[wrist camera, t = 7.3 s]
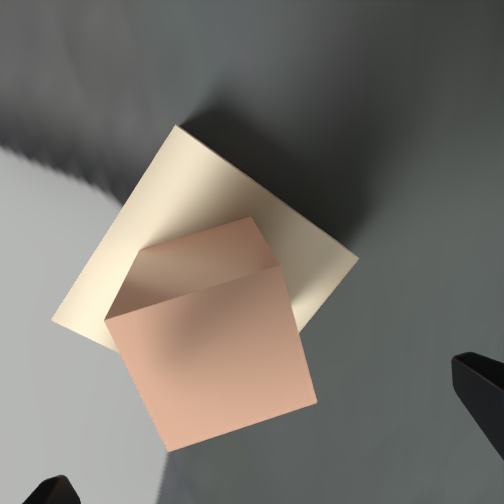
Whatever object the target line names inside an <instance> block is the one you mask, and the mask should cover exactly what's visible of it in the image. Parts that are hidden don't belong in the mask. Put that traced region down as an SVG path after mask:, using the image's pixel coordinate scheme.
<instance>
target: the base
mask: <svg viewBox="0 0 504 504" xmlns="http://www.w3.org/2000/svg"><path fill="white" fill-rule="evenodd" d="M250 216H251V217H252V219H253V221H254V222H255V224H256V226H257V227H258V229H259V231H260V232H261V234H262V236H263V237H264V239H265V240H266V242H267V244H268V245H269V247H270V249H271V250H272V252H273V254H274V255H275V257H276V259H277V260H278V262H279V264H280V266H281V269H282V273H283V277H284V281H285V284H286V288H287V292H288V296H289V299H290V303H291V307H292V310H293V314H294V318H295V322H296V325H297V329H298V333H299V332H300V331H301V330H302V328H303V327H304V326H305V325H306V324H307V322H308V321H309V320H310V319H311V317H312V316H313V315H314V314H315V312H316V311H317V310H318V309H319V307H320V306H321V305H322V304H323V303H324V301H325V300H326V299H327V298H328V296H329V295H330V294H331V293H332V291H333V290H334V289H335V288H336V286H337V285H338V284H339V283H340V282H341V280H342V279H343V278H344V277H345V275H346V274H347V273H348V272H349V270H350V269H351V268H352V267H353V265H354V264H355V263H356V262H357V261H358V259H359V258H358V257H357V256H355V255H354V254H353V253H352V252H350V251H349V250H348V249H347V248H345V247H344V246H343V245H342V244H340V243H339V242H338V241H337V240H335V239H334V238H333V237H331V236H330V235H328V234H327V233H326V232H324V231H323V230H322V229H320V228H319V227H318V226H316V225H315V224H313V223H312V222H311V221H309V220H308V219H307V218H305V217H304V216H302V215H301V214H300V213H298V212H297V211H296V210H294V209H293V208H291V207H290V206H289V205H287V204H286V203H285V202H283V201H282V200H280V199H279V198H278V197H276V196H275V195H274V194H272V193H271V192H269V191H268V190H267V189H265V188H264V187H263V186H261V185H260V184H259V183H257V182H256V181H254V180H253V179H252V178H250V177H249V176H248V175H246V174H245V173H243V172H242V171H241V170H239V169H238V168H237V167H235V166H234V165H232V164H231V163H230V162H228V161H227V160H226V159H224V158H223V157H221V156H220V155H219V154H217V153H216V152H215V151H213V150H212V149H210V148H209V147H208V146H206V145H205V144H204V143H202V142H201V141H200V140H198V139H197V138H195V137H194V136H193V135H191V134H190V133H189V132H187V131H186V130H184V129H183V128H182V127H180V126H178V125H175V126H174V128H173V130H172V131H171V133H170V134H169V136H168V137H167V139H166V141H165V142H164V144H163V145H162V147H161V148H160V150H159V152H158V153H157V155H156V156H155V158H154V159H153V161H152V163H151V164H150V166H149V167H148V169H147V170H146V172H145V174H144V175H143V177H142V178H141V180H140V181H139V183H138V185H137V186H136V188H135V189H134V191H133V192H132V194H131V195H130V197H129V199H128V200H127V202H126V203H125V205H124V206H123V208H122V210H121V211H120V213H119V214H118V216H117V218H116V219H115V221H114V222H113V224H112V225H111V227H110V228H109V230H108V232H107V233H106V235H105V236H104V238H103V239H102V241H101V243H100V244H99V246H98V247H97V249H96V251H95V252H94V254H93V255H92V257H91V258H90V260H89V262H88V263H87V265H86V266H85V268H84V270H83V271H82V272H81V274H80V276H79V277H78V279H77V280H76V282H75V283H74V285H73V287H72V288H71V290H70V291H69V293H68V294H67V296H66V297H65V299H64V301H63V302H62V304H61V305H60V307H59V308H58V310H57V312H56V313H55V315H54V317H53V318H52V319H51V320H52V321H54V322H56V323H58V324H60V325H62V326H65V327H66V328H68V329H70V330H72V331H75V332H77V333H79V334H81V335H83V336H85V337H87V338H89V339H91V340H93V341H95V342H97V343H99V344H101V345H104V346H105V347H108V348H110V349H112V350H114V351H116V352H118V353H119V351H118V349H117V347H116V345H115V343H114V340H113V338H112V336H111V334H110V332H109V330H108V328H107V326H106V324H105V322H104V319H105V317H106V315H107V313H108V311H109V309H110V307H111V305H112V303H113V301H114V299H115V297H116V295H117V293H118V291H119V289H120V287H121V285H122V283H123V281H124V279H125V277H126V275H127V273H128V271H129V269H130V267H131V265H132V263H133V261H134V259H135V257H136V255H137V253H138V251H139V250H142V249H146V248H149V247H152V246H156V245H159V244H162V243H165V242H169V241H172V240H175V239H178V238H182V237H185V236H188V235H191V234H195V233H198V232H201V231H204V230H208V229H211V228H214V227H217V226H221V225H224V224H227V223H230V222H234V221H237V220H240V219H243V218H247V217H250Z"/></svg>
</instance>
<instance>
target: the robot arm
mask: <svg viewBox="0 0 504 504" xmlns="http://www.w3.org/2000/svg"><path fill="white" fill-rule="evenodd" d="M451 364H452V380H453V387H454V390H455V392H456V394H457V395H458V397H459V398H460V400H461V401H462V403H463V404H464V405H465V407H466V408H467V410H468V411H469V413H470V414H471V415H472V417H473V418H474V420H475V421H476V423H477V424H478V425H479V427H480V428H481V430H482V431H483V432H484V434H485V435H486V437H487V438H488V440H489V441H490V442H491V444H492V445H493V447H494V448H495V449H496V451H497V452H498V453H499V455H500V456H501V458H502V459H503V460H504V363H502V362H499V361H496V360H493V359H491V358H488V357H485V356H482V355H479V354H476V353H473V352H465V353H462V354H459V355H455V356H454V357H453V358H452V360H451ZM22 504H81V502H80V498H79V497H78V495H77V493H76V491H75V490H74V488H73V487H72V485H71V483H70V481H69V480H68V478H67V477H66V476H64V475H58V476H55V477H52V478H49V479H46V480H44V481H43V482H41V483H40V484H39V486H38V487H37V488H36V489H35V490H34V491H33V492H32V493H31V495H30V496H29V497H28V498H27V499H26V500H25V501H24V502H23V503H22Z"/></svg>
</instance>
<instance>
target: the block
mask: <svg viewBox="0 0 504 504" xmlns="http://www.w3.org/2000/svg"><path fill="white" fill-rule="evenodd" d="M104 322H105V324H106V326H107V328H108V330H109V332H110V334H111V336H112V338H113V340H114V343H115V345H116V347H117V349H118V351H119V353H120V355H121V357H122V359H123V361H124V363H125V365H126V367H127V369H128V371H129V373H130V375H131V377H132V379H133V381H134V383H135V386H136V388H137V389H138V392H139V394H140V396H141V398H142V400H143V402H144V404H145V406H146V408H147V410H148V412H149V414H150V416H151V418H152V420H153V422H154V424H155V427H156V429H157V430H158V433H159V435H160V437H161V439H162V441H163V443H164V445H165V447H166V449H167V451H168V452H170V451H173V450H176V449H179V448H182V447H185V446H188V445H191V444H194V443H197V442H200V441H203V440H206V439H209V438H212V437H215V436H218V435H221V434H224V433H227V432H231V431H234V430H237V429H240V428H243V427H246V426H249V425H252V424H255V423H258V422H261V421H264V420H267V419H270V418H273V417H276V416H279V415H282V414H285V413H288V412H291V411H294V410H297V409H300V408H303V407H306V406H309V405H312V404H315V403H317V400H316V396H315V392H314V388H313V385H312V381H311V377H310V374H309V370H308V366H307V362H306V359H305V355H304V351H303V348H302V344H301V340H300V336H299V333H298V329H297V325H296V322H295V318H294V314H293V310H292V307H291V303H290V299H289V296H288V292H287V288H286V284H285V281H284V277H283V273H282V269H281V266H280V264H279V262H278V260H277V259H276V257H275V255H274V254H273V252H272V250H271V249H270V247H269V245H268V244H267V242H266V240H265V239H264V237H263V236H262V234H261V232H260V231H259V229H258V227H257V226H256V224H255V222H254V221H253V219H252V217H251V216H250V217H247V218H243V219H240V220H237V221H234V222H230V223H227V224H224V225H221V226H217V227H214V228H211V229H208V230H204V231H201V232H198V233H195V234H191V235H188V236H185V237H182V238H178V239H175V240H172V241H169V242H165V243H162V244H159V245H156V246H152V247H149V248H146V249H142V250H139V251H138V253H137V255H136V257H135V259H134V261H133V263H132V265H131V267H130V269H129V271H128V273H127V275H126V277H125V279H124V281H123V283H122V285H121V287H120V289H119V291H118V293H117V295H116V297H115V299H114V301H113V303H112V305H111V307H110V309H109V311H108V313H107V315H106V317H105V319H104Z"/></svg>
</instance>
